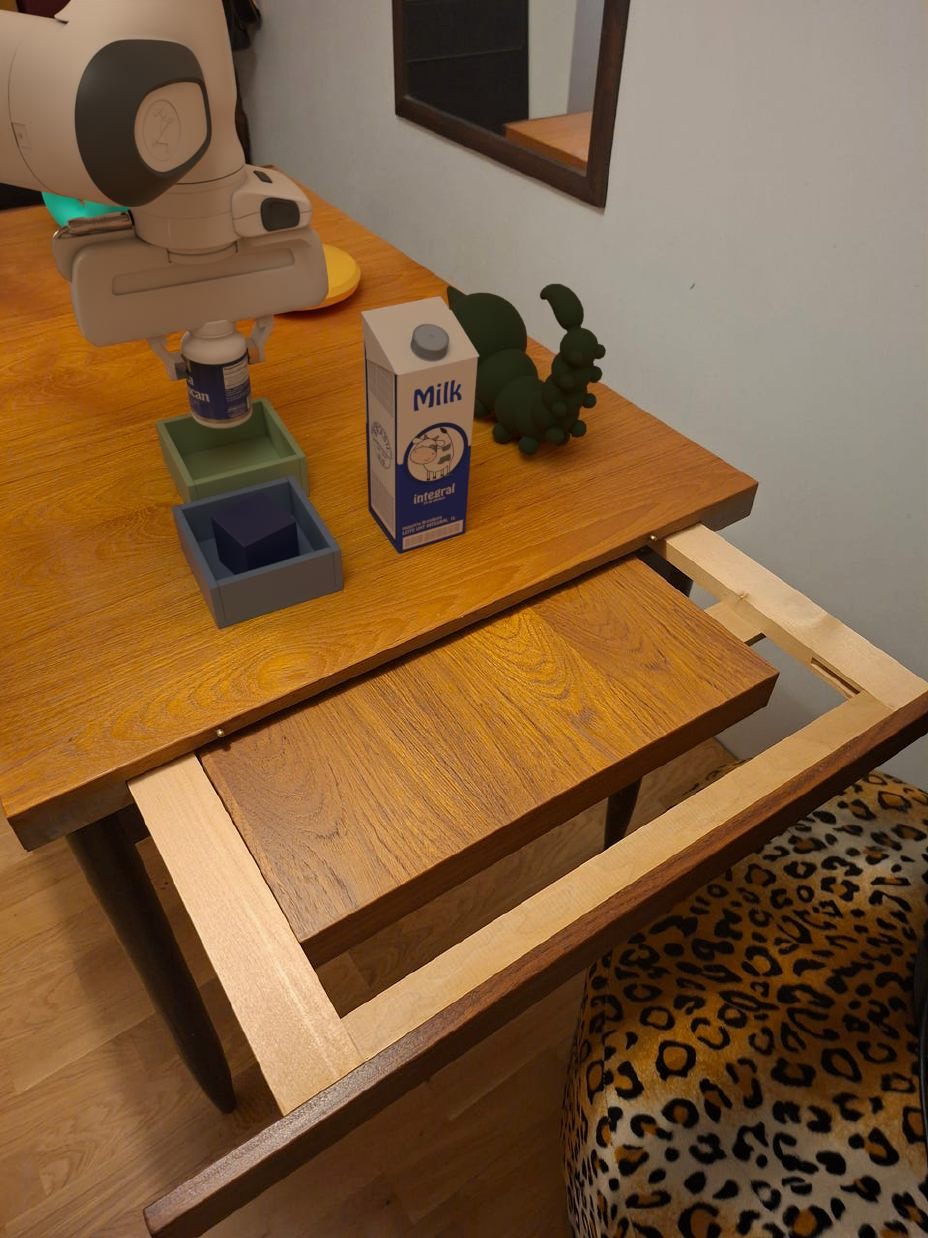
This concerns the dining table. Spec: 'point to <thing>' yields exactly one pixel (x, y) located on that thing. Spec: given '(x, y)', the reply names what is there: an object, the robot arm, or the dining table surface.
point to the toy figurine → (529, 368)
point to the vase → (339, 276)
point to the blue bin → (267, 584)
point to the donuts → (75, 208)
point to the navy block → (254, 534)
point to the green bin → (230, 453)
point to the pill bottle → (217, 375)
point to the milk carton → (418, 420)
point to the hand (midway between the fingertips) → (217, 368)
